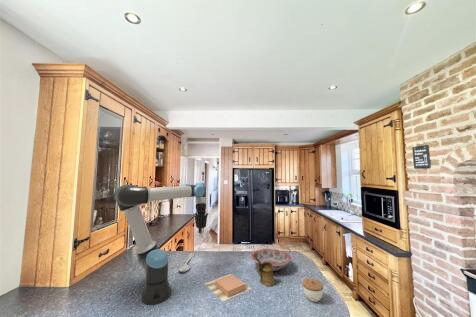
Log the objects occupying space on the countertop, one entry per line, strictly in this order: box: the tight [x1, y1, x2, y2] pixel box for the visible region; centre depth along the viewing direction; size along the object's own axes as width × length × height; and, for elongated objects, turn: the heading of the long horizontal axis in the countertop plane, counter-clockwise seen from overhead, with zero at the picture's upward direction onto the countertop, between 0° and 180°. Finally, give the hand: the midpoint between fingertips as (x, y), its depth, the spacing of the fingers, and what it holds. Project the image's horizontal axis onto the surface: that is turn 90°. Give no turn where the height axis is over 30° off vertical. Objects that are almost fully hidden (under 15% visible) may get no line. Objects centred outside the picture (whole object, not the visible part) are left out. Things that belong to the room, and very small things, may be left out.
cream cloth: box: [204, 273, 253, 302], centre depth 117 cm, size 22×20×1 cm
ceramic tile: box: [214, 273, 246, 297], centre depth 115 cm, size 3×12×14 cm
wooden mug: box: [253, 254, 275, 287], centre depth 123 cm, size 9×14×18 cm, turn 97°
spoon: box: [177, 252, 194, 273], centre depth 151 cm, size 35×8×3 cm, turn 2°
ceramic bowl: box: [250, 248, 292, 272], centre depth 143 cm, size 29×29×8 cm
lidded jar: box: [301, 278, 324, 303], centre depth 106 cm, size 11×11×9 cm
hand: (201, 238), depth 135 cm, fingers closed
